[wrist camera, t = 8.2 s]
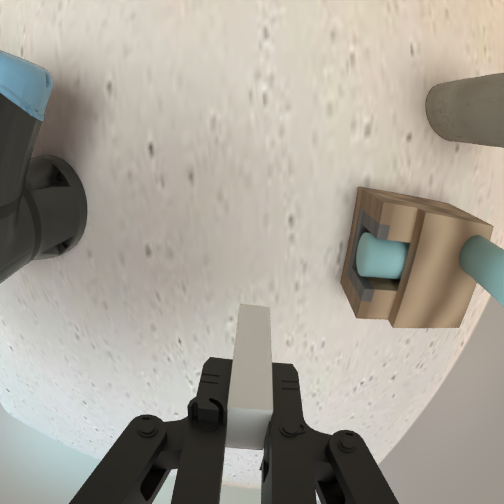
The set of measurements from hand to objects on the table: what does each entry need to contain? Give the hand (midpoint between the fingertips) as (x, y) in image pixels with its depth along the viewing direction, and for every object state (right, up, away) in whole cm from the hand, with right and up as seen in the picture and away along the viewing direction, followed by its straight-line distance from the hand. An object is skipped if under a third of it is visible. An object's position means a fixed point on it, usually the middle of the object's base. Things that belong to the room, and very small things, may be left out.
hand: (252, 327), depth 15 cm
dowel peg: (+19, +4, +19) cm, 27 cm away
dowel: (+24, +4, +11) cm, 27 cm away
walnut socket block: (+19, +5, +22) cm, 30 cm away
